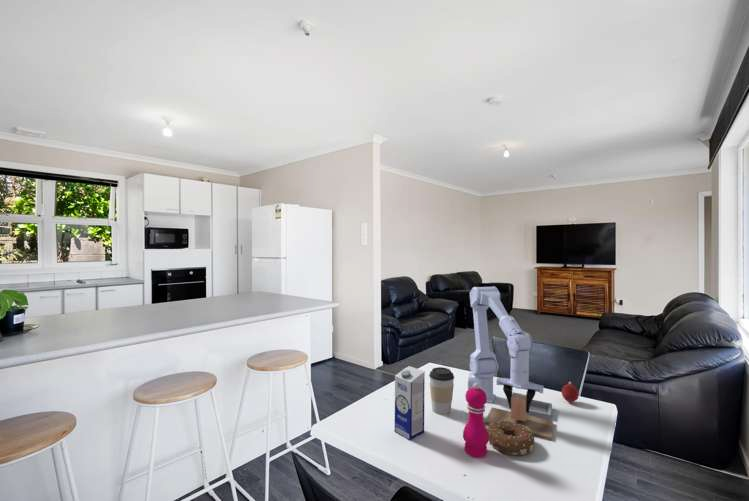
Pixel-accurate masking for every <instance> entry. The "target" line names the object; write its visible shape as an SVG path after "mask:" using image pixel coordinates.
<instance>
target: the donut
mask: <svg viewBox="0 0 749 501" xmlns="http://www.w3.org/2000/svg"><path fill="white" fill-rule="evenodd" d="M486 429H487V432H488V436H489V441H488V443H489V445H491V446H493V447H494V448H495V449H496V450H498V451H500V452H502V453H504V454H507V455H511V456H523V455H528V454H530V452H533V449H535V446H536V445H535V444H536V443H535V437H534V436H533V435H532V433H531V432H530V431H529V430H528V429H527V428H525V427H524V426H523V425H520V424H517V423H514V422H509V421H501V420H500V421H498V422H494V423H493V422H492V424H490V425H488V427H486Z"/></svg>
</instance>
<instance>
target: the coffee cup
mask: <svg viewBox="0 0 749 501" xmlns="http://www.w3.org/2000/svg"><path fill="white" fill-rule="evenodd" d="M428 376H429V387H430V388H429V389H430V390H429V391H430V400H431V411H432V412H433V413H434V414H437V415H441V416H447V415H449V414H451V412H452V401H453V396H454V395H453V394H454V384H455V383H454V379H455V376H454V373H453V372H452V371H451V369H449V368H447V367H441V366H439V367H438V366H437V367H433V368H432V370H431V371H430V372H429V374H428Z"/></svg>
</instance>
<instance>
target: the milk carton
mask: <svg viewBox="0 0 749 501" xmlns="http://www.w3.org/2000/svg"><path fill="white" fill-rule="evenodd" d="M425 372H426V371H424V370H422V369H420V368H416V367H414V366H410V365H408V366H407V367H405V368H403V369H402V370H401V371H399V372H398V373H396V374H395V375H394V432H395V433H396V434H398V435H399V436H402V437H403V438H405V439H407V440H408V441H411V440H413V439H415V438H417V437H420V436H421V435H423V434H425V387H426V386H425V384H426V383H425V378H426V377H425V374H426V373H425Z"/></svg>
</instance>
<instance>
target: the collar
mask: <svg viewBox="0 0 749 501" xmlns="http://www.w3.org/2000/svg"><path fill="white" fill-rule="evenodd" d="M530 406H532V407H533V406H534V407H539V408H543V409H547V412H545V411H539V410H534V409H531V408H529V413H527V415H529V416H533V417H538V418H542V419H547V420H551V421H552V413H553V411H552V410H553V403H551V402H547V401H541V400H537V399H532V401H531V404H530Z"/></svg>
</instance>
